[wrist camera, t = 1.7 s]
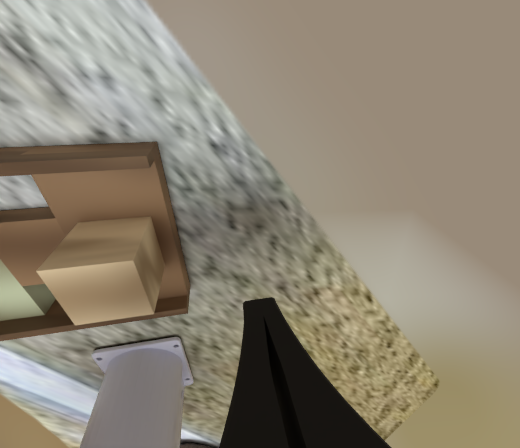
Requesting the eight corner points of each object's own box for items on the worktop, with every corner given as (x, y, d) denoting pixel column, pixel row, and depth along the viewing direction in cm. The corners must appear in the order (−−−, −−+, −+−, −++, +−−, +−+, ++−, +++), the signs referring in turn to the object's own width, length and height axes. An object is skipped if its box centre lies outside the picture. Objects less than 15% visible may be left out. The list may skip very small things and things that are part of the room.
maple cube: (165, 265, 16) (153, 314, 13) (103, 272, 16) (75, 325, 12) (150, 216, 14) (133, 260, 11) (77, 222, 14) (36, 271, 10)
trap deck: (190, 286, 20) (186, 322, 17) (-14, 313, 18) (-58, 360, 15) (156, 141, 13) (142, 161, 10) (-176, 154, 11) (-312, 183, 8)
